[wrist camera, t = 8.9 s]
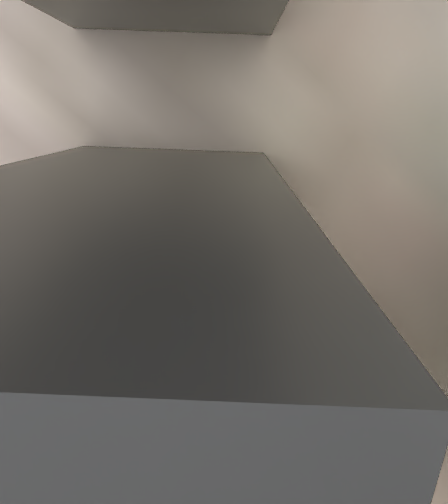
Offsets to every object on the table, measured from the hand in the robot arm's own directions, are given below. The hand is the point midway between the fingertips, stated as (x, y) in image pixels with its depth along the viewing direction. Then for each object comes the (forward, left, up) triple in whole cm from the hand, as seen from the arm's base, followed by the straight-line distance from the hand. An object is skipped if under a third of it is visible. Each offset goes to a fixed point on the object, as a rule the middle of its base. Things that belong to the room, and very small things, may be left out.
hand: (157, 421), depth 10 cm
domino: (0, -5, -3) cm, 6 cm away
